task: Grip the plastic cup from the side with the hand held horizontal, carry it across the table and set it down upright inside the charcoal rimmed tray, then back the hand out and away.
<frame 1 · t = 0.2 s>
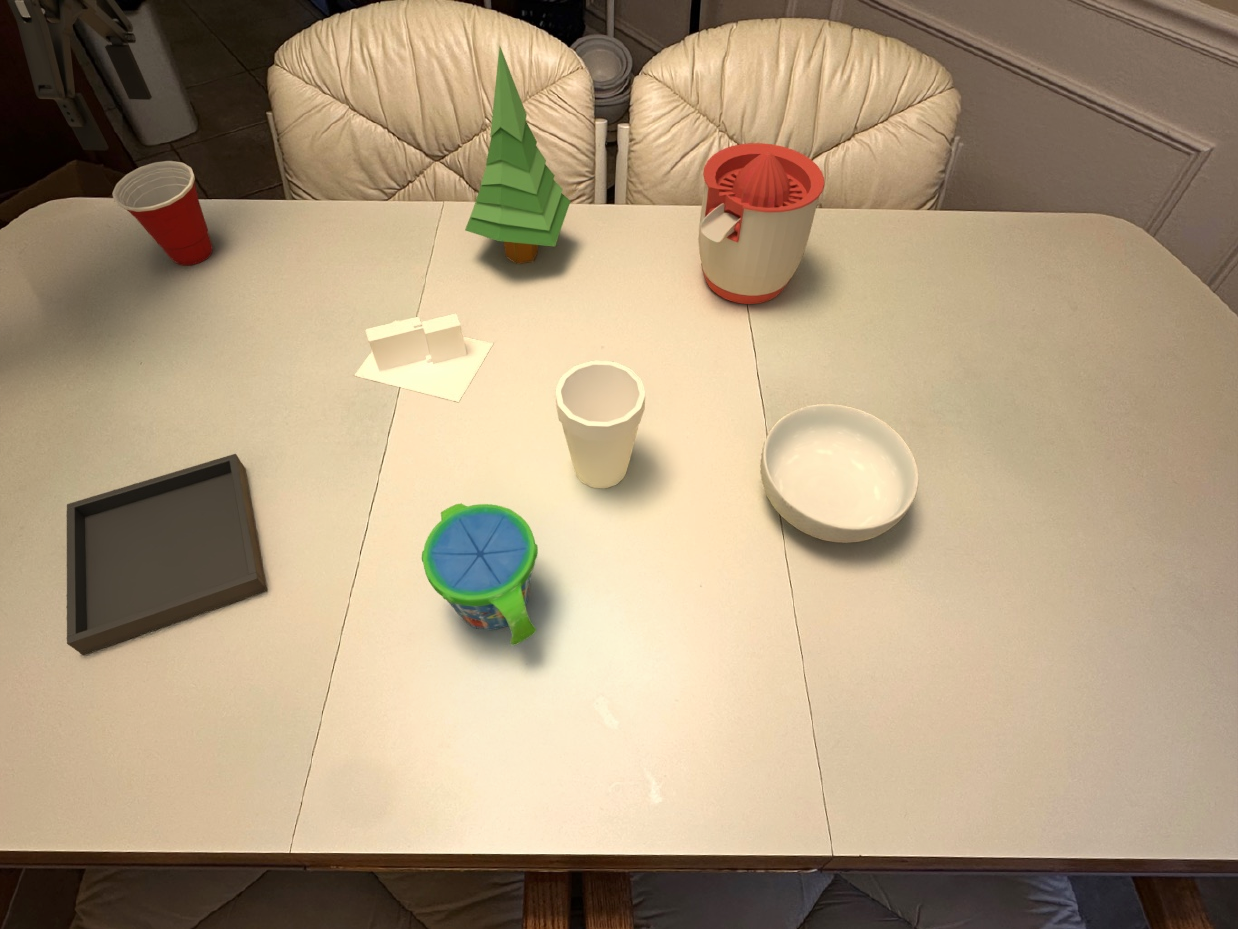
hand: (119, 122, 95), 20 cm above the table, tool pointing down, fingers open, 13 cm apart
foam cup: (600, 467, 88), on the table
cereal bowl: (824, 499, 86), on the table
napkin holder: (425, 360, 99), on the table
tray: (171, 553, 80), on the table
snack cup: (492, 599, 78), on the table
citrus juicer: (740, 283, 109), on the table
decorative tree: (522, 254, 112), on the table
plastic cup: (191, 255, 111), on the table
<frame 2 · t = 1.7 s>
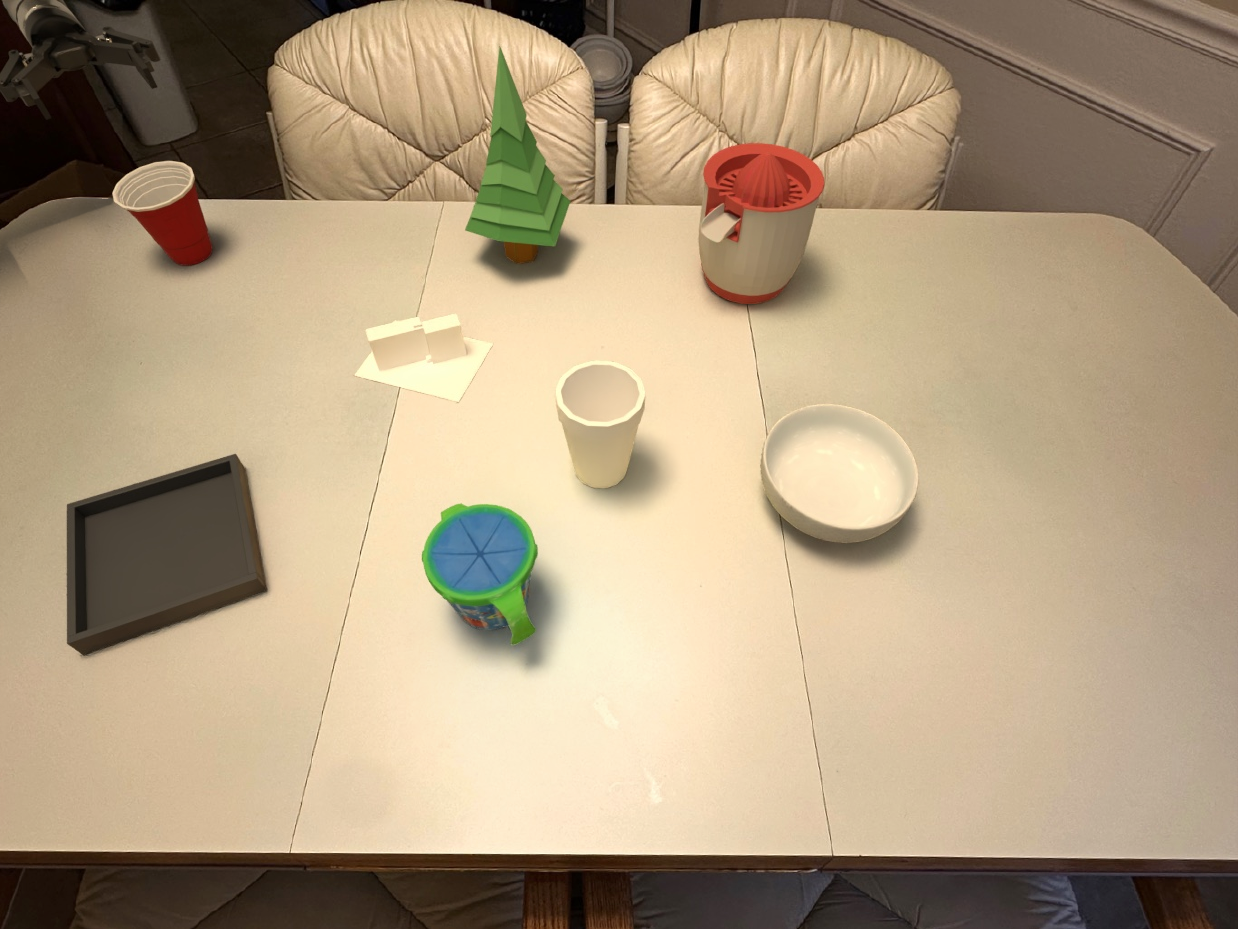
hand: (97, 93, 99), 20 cm above the table, tool horizontal, fingers open, 13 cm apart
nothing on the table moved.
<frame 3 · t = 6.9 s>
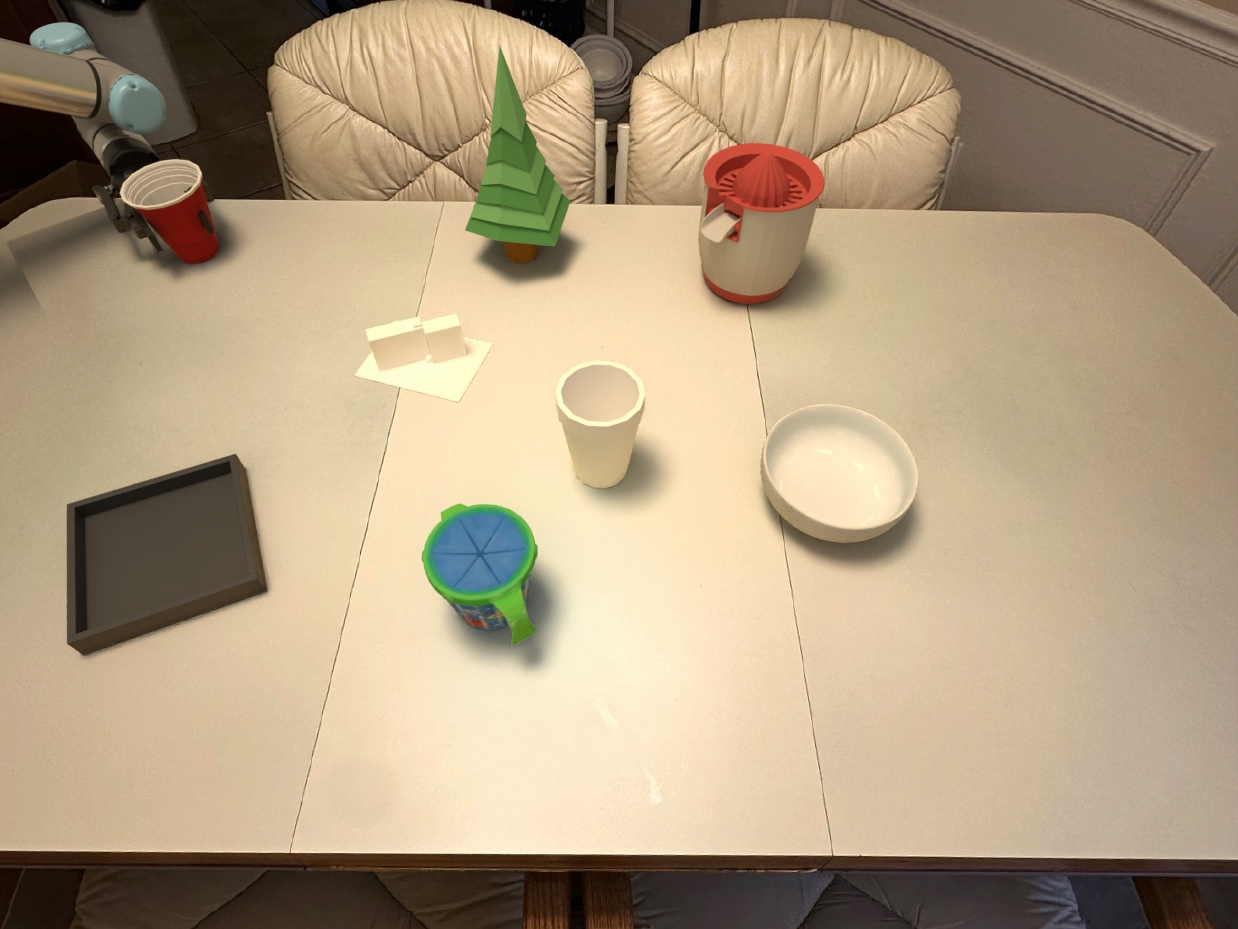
hand: (182, 233, 103), 7 cm above the table, tool horizontal, fingers closed on plastic cup, 6 cm apart
plastic cup: (198, 253, 111), on the table, touching gripper
everything else where it was.
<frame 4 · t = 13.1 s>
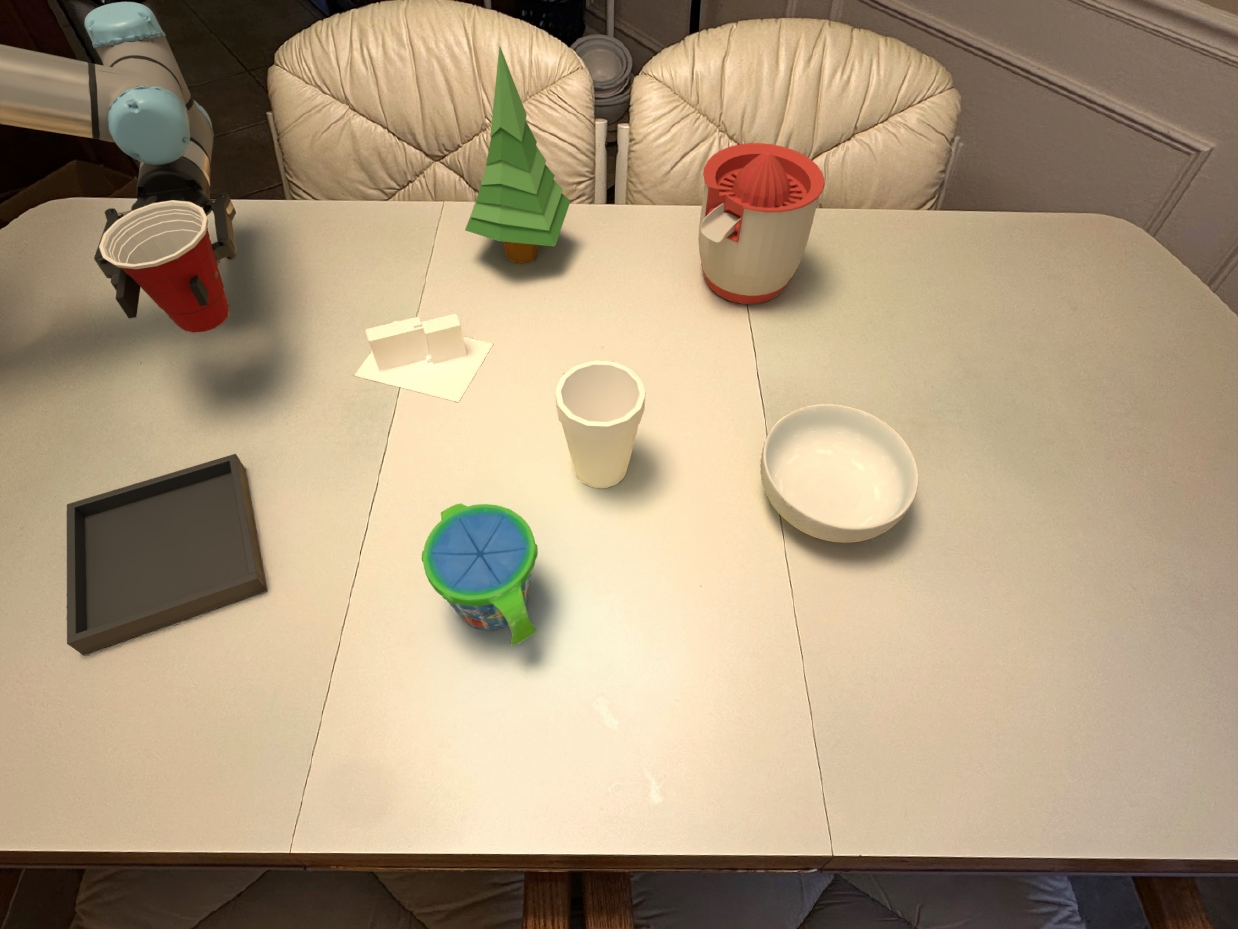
hand: (162, 301, 78), 18 cm above the table, tool horizontal, fingers closed on plastic cup, 6 cm apart
plastic cup: (202, 318, 86), point 11 cm above the table, touching gripper
everything else where it was.
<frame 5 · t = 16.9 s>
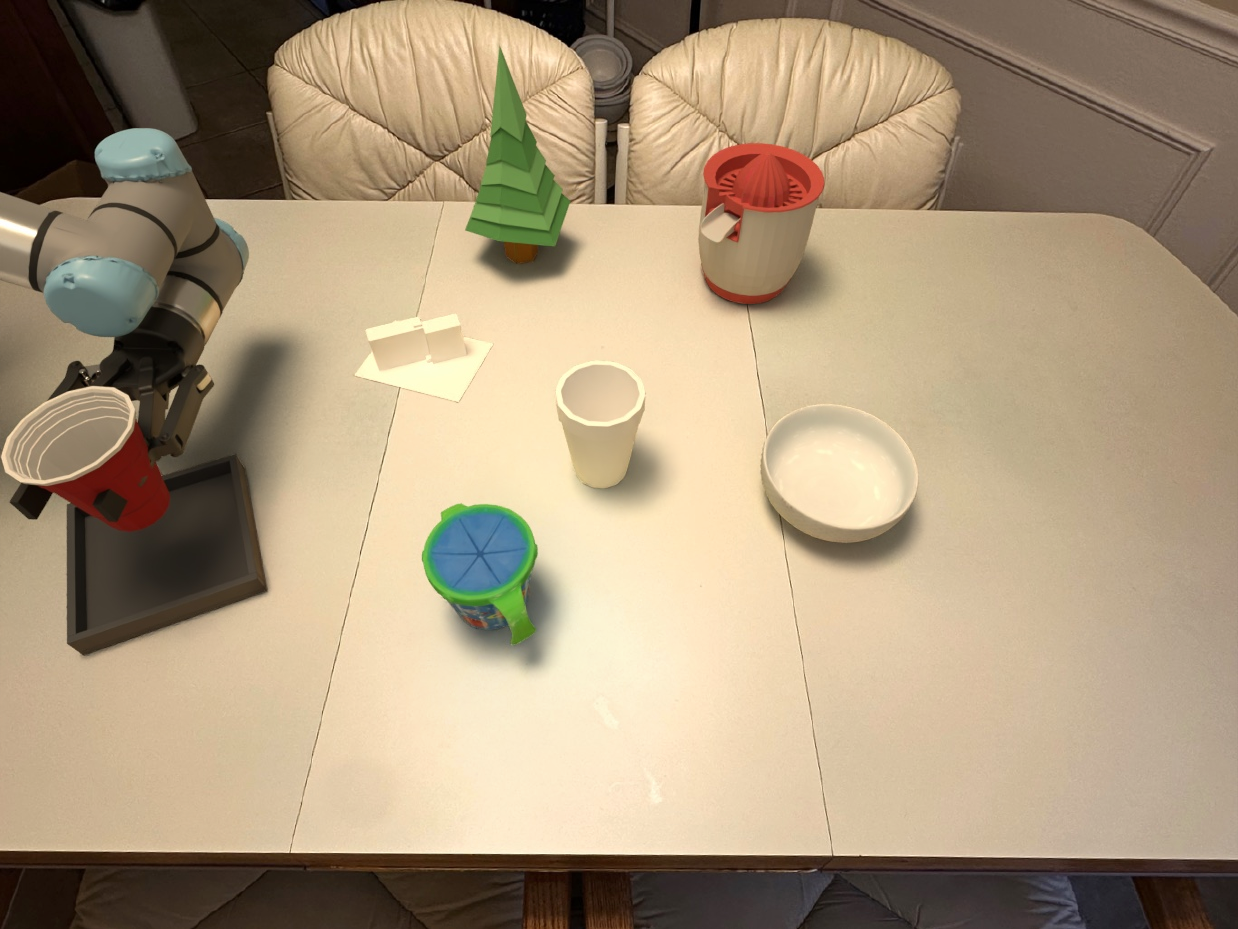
hand: (64, 511, 65), 16 cm above the table, tool horizontal, fingers closed on plastic cup, 6 cm apart
plastic cup: (138, 508, 73), point 9 cm above the table, touching gripper
everything else where it was.
when the fingers open (7 cm above the table, at t = 19.6 s): plastic cup stays where it is, resting on tray.
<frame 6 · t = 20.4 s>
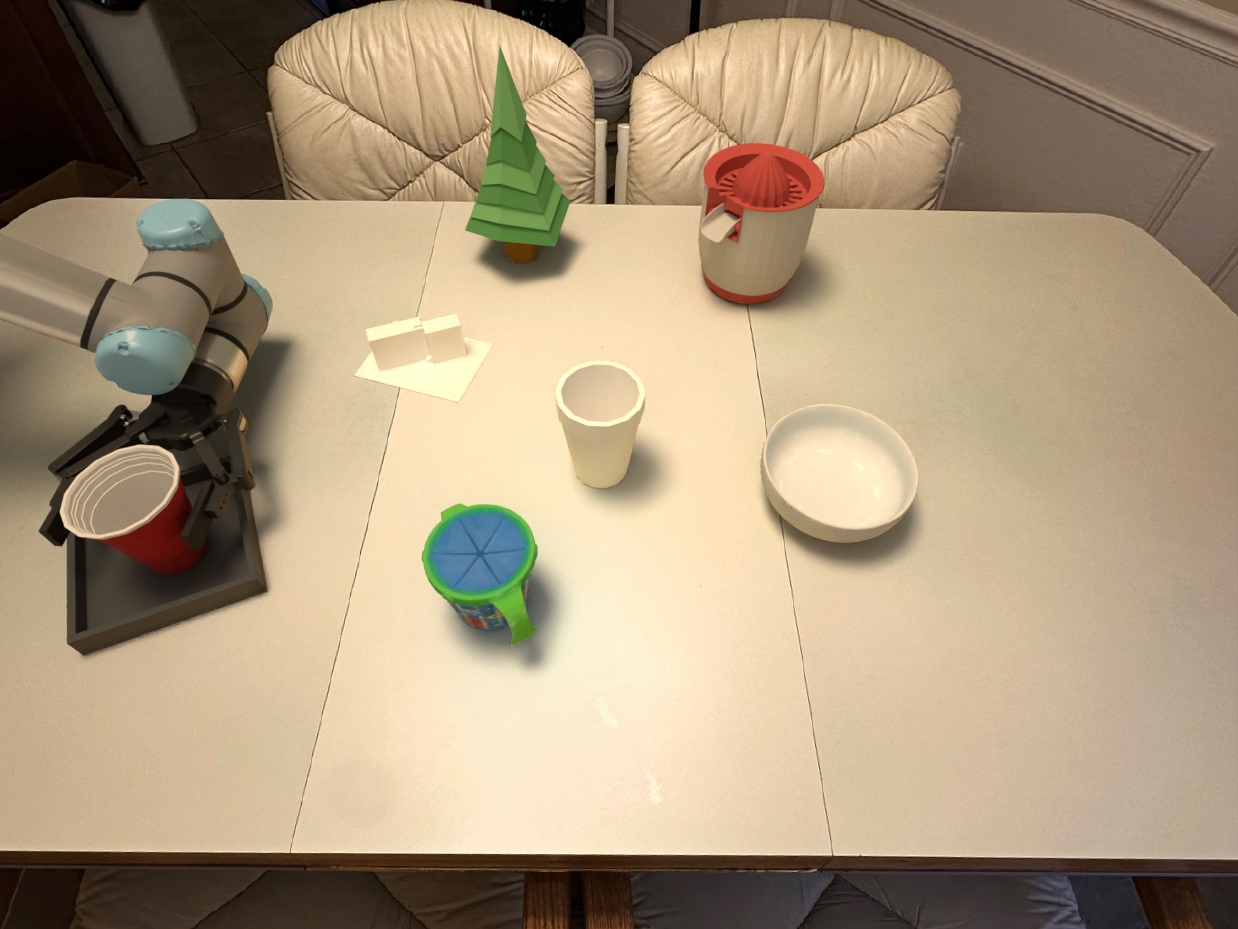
hand: (119, 541, 72), 8 cm above the table, tool horizontal, fingers open, 13 cm apart
plastic cup: (177, 552, 80), point 1 cm above the table, touching tray
everything else where it was.
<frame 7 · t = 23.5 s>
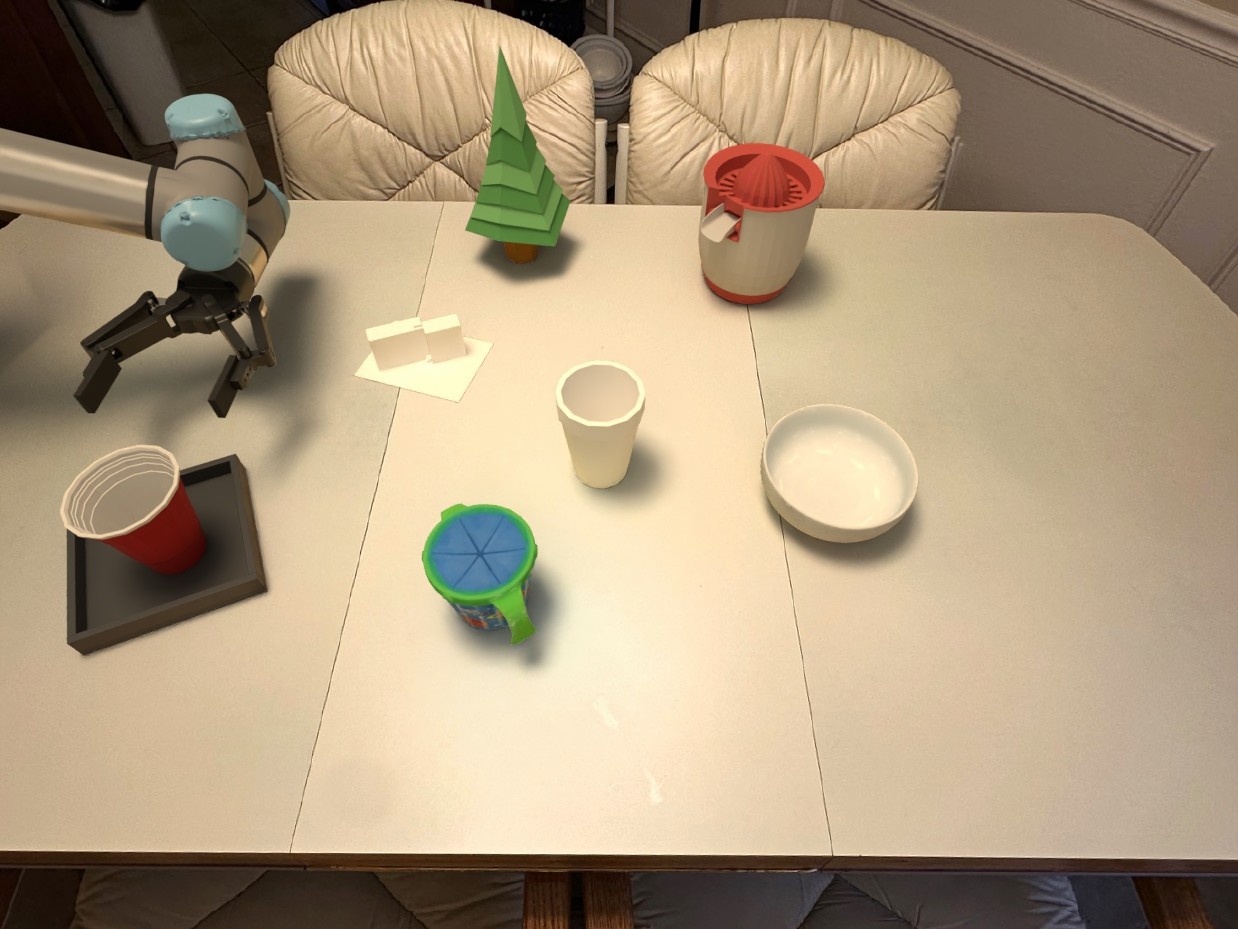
hand: (150, 407, 76), 13 cm above the table, tool horizontal, fingers open, 13 cm apart
nothing on the table moved.
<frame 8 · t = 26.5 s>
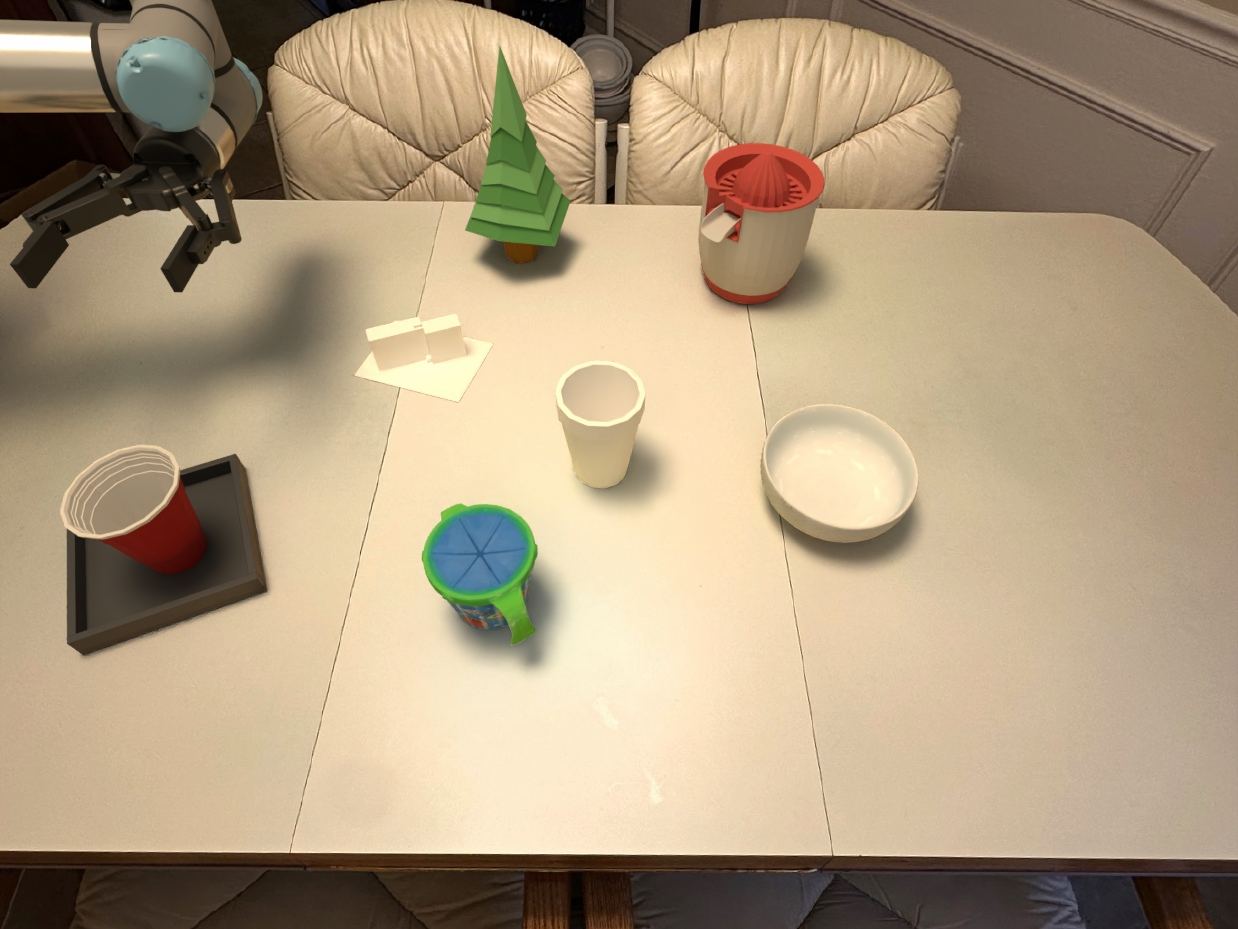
hand: (96, 278, 68), 26 cm above the table, tool horizontal, fingers open, 13 cm apart
nothing on the table moved.
at the end: plastic cup inside the target area in the tray (1.1 cm from its centre), point 0.6 cm above the tray's base; plastic cup tilted 0°; the gripper is holding nothing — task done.
